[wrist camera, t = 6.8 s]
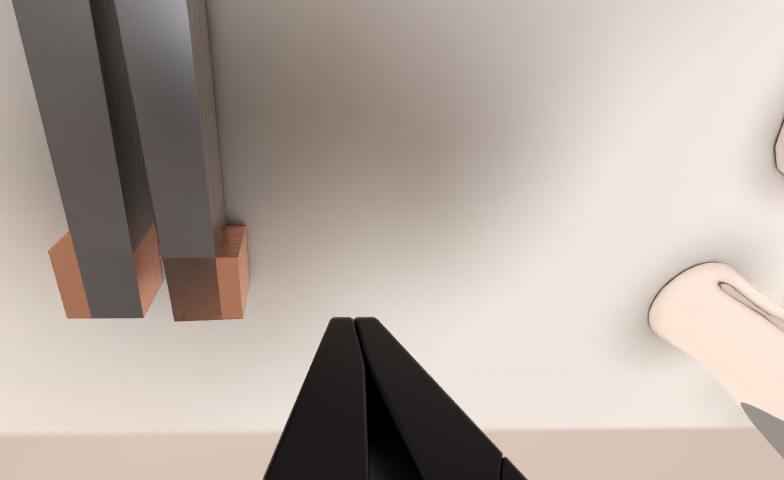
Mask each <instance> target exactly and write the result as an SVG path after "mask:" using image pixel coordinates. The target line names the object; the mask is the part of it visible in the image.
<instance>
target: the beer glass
mask: <svg viewBox="0 0 784 480" xmlns="http://www.w3.org/2000/svg"><path fill="white" fill-rule="evenodd" d="M649 324H650V327H651V329H652V330H653V331H654V332H655V333H656V334H657V335H658V336H660V337H661V338H663V339H664V340H666V341H667V342H669V343H670V344H672V345H674V346H675V347H677V348H678V349H680V350H682V351H683V352H685V353H686V354H688V355H689V356H690V357H692V358H693V359H694V360H696V361H697V362H698V363H699V364H700V365H702V366H703V367H704V368H705V369H706V370H707V371H708V372H709V373H710V374H711V375H712V376H713V377H714V378H715V379H716V380H717V381H718V382H719V383H720V385H721V386H722V387H723V388H724V389H725V390H726V392H727V393H728V394H729V395H730V396H731V397H732V399H733V400H734V401H735V402H736V403H737V405H738V406H739V407H740V408H741V410H742V411H743V412H744V413H745V414H746V416H747V417H748V418H749V419H750V420H751V422H752V423H753V424H754V425H755V426H756V427H757V429H758V430H759V431H760V432H761V433H762V435H763V436H764V437H765V438H766V439H767V441H768V442H769V443H770V444H771V445H772V446H773V447H774V448H775V449H776V451H777V452H778V453H779V454H780V455H781V456H782V457H783V458H784V308H783V307H782V306H780V305H778V304H776V303H775V302H773V301H772V300H770V299H769V298H767V297H766V296H764V295H763V294H762V293H761V292H759V291H758V290H757V289H755V288H754V287H753V286H752V285H751V284H750V283H749V282H747V281H746V280H745V279H744V278H743V277H742V276H741V275H739V274H738V273H737V272H736V271H735V270H733V269H732V268H731V267H729V266H727V265H725V264H722V263H716V262H712V263H705V264H701V265H697V266H695V267H692V268H690V269H688V270H686V271H684V272H683V273H681V274H679V275H678V276H676V277H675V278H674V279H673V280H671V281H670V282H669V283H668V284H667V285H666V286H665V287H664V288H663V289H662V290H661V291H660V293H659V294H658V295H657V297H656V298H655V300H654V302H653V304H652V306H651V309H650V312H649Z"/></svg>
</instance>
